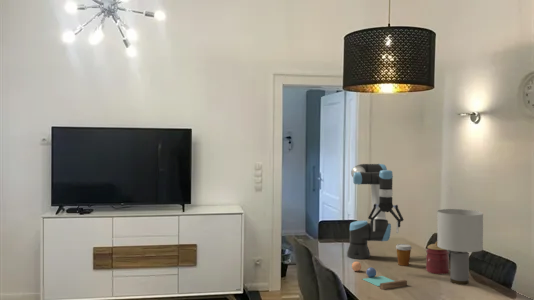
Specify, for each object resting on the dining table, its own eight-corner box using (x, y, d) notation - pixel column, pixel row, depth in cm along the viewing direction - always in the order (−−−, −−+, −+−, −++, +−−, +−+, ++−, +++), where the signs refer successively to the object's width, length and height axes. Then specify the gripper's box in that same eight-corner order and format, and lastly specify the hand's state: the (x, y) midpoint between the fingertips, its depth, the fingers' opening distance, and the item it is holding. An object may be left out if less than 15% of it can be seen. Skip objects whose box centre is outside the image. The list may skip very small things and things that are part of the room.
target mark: (361, 279, 252) (361, 278, 252) (382, 276, 258) (382, 275, 258) (377, 286, 240) (377, 285, 240) (399, 283, 245) (399, 282, 245)
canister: (448, 269, 272) (448, 240, 272) (449, 275, 260) (450, 244, 260) (425, 267, 276) (425, 238, 276) (425, 273, 264) (425, 242, 264)
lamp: (427, 278, 253) (428, 210, 253) (458, 274, 262) (459, 208, 262) (460, 291, 232) (460, 216, 232) (492, 285, 241) (493, 213, 241)
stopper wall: (379, 288, 236) (380, 283, 236) (404, 284, 243) (404, 279, 243) (382, 289, 235) (382, 284, 235) (406, 285, 241) (407, 280, 241)
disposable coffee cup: (412, 267, 278) (412, 247, 277) (396, 266, 279) (396, 246, 279) (410, 263, 287) (410, 244, 287) (395, 262, 289) (395, 243, 289)
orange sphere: (349, 270, 270) (350, 261, 270) (357, 269, 272) (357, 260, 272) (355, 272, 265) (355, 263, 265) (363, 271, 267) (363, 262, 267)
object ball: (364, 276, 257) (364, 266, 257) (372, 275, 260) (372, 265, 260) (370, 279, 252) (370, 269, 252) (378, 277, 255) (378, 268, 255)
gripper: (363, 196, 273) (363, 231, 273) (406, 198, 263) (406, 234, 263) (366, 194, 279) (365, 229, 280) (408, 196, 269) (408, 232, 270)
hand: (385, 231), depth 272 cm, fingers open, 13 cm apart
